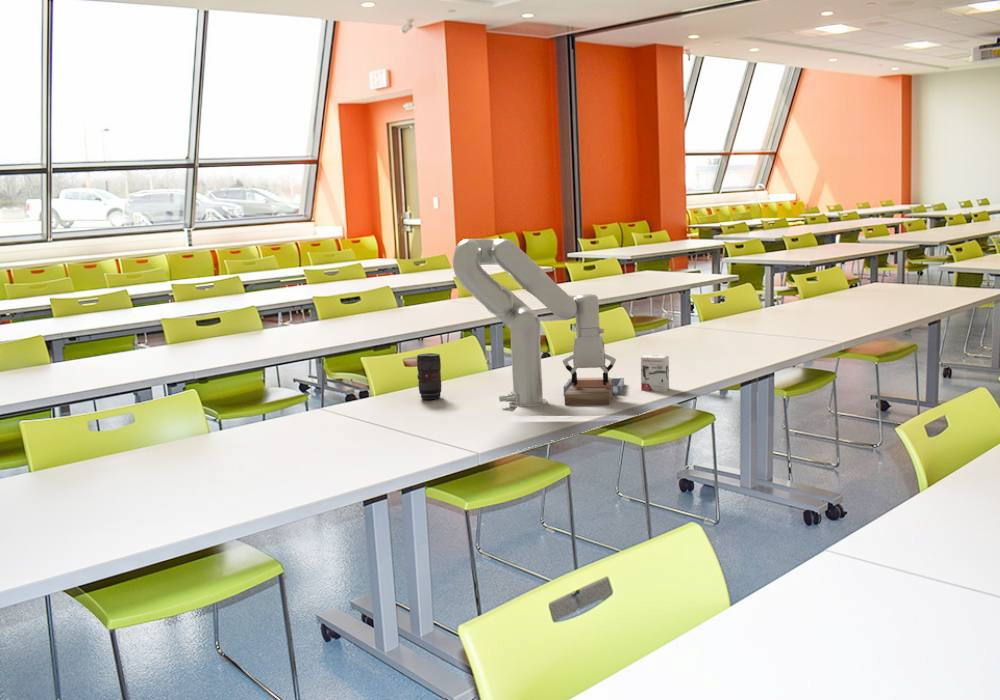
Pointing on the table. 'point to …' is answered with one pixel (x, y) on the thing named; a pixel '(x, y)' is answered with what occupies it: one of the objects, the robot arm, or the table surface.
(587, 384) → the tile
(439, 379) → the camera lens
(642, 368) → the ink box
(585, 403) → the plate
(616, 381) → the tray
